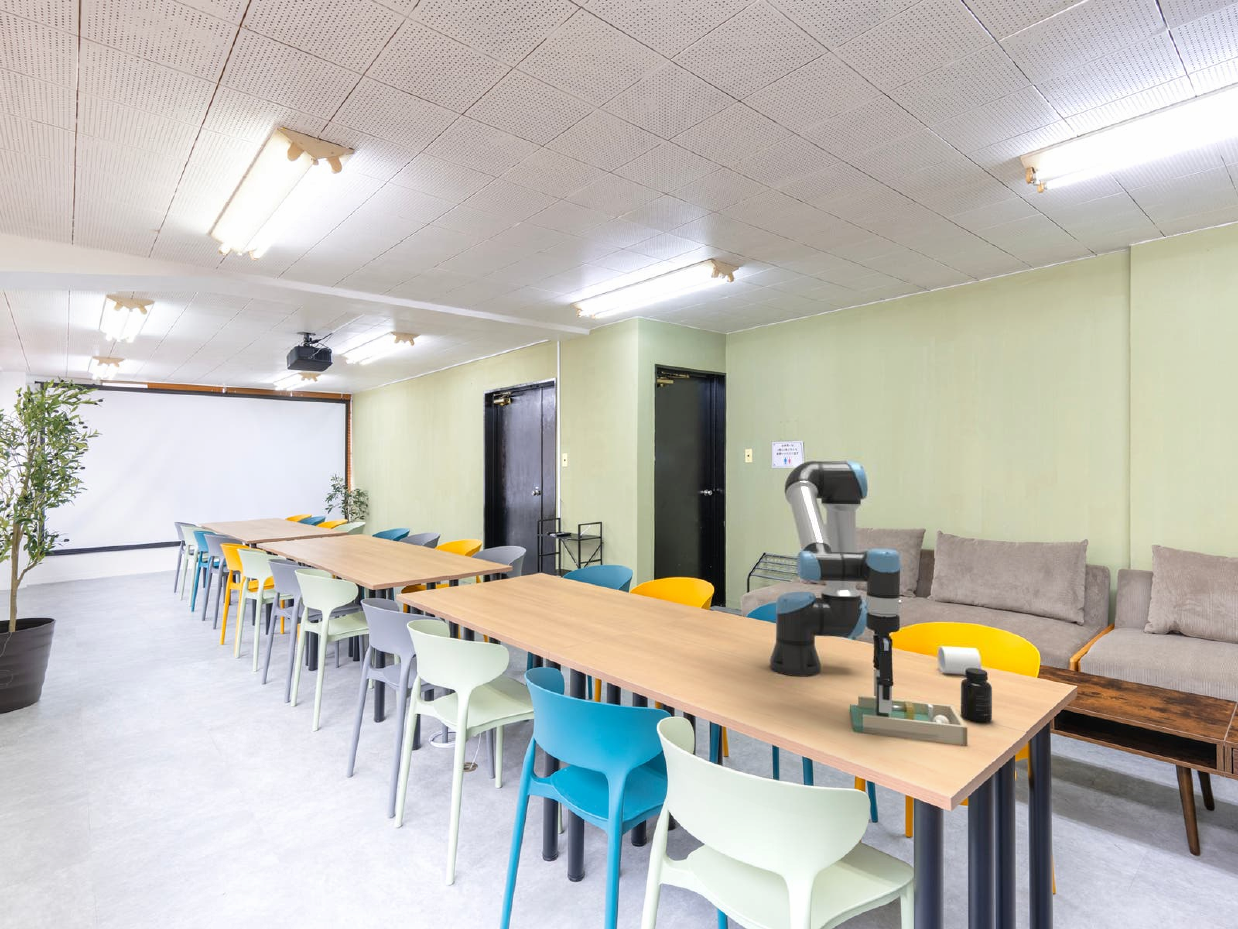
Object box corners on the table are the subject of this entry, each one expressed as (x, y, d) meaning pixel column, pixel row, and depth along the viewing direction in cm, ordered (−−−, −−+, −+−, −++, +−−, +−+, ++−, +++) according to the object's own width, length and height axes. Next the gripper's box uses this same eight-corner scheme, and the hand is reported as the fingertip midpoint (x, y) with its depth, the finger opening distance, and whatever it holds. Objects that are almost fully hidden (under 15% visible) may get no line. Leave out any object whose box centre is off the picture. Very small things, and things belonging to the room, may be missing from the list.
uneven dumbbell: (877, 718, 151) (877, 680, 151) (875, 712, 155) (875, 675, 155) (914, 722, 149) (914, 684, 149) (911, 716, 153) (911, 679, 153)
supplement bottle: (954, 713, 160) (954, 666, 160) (980, 713, 161) (980, 666, 161) (972, 724, 153) (972, 675, 153) (998, 723, 154) (998, 674, 154)
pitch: (854, 732, 148) (854, 715, 148) (849, 710, 161) (849, 694, 162) (967, 745, 141) (967, 727, 141) (953, 721, 155) (953, 705, 155)
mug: (981, 679, 187) (981, 652, 187) (945, 676, 189) (945, 650, 189) (967, 667, 199) (967, 641, 199) (933, 664, 201) (933, 639, 201)
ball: (951, 734, 147) (934, 733, 148) (948, 728, 150) (931, 727, 151) (950, 719, 147) (934, 718, 148) (947, 713, 150) (931, 712, 151)
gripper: (907, 625, 141) (906, 724, 141) (893, 604, 163) (892, 690, 163) (871, 622, 143) (870, 720, 143) (862, 602, 165) (861, 686, 165)
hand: (882, 704), depth 153 cm, fingers open, 10 cm apart
